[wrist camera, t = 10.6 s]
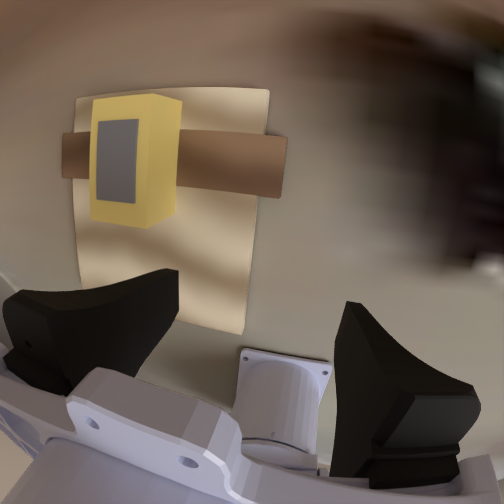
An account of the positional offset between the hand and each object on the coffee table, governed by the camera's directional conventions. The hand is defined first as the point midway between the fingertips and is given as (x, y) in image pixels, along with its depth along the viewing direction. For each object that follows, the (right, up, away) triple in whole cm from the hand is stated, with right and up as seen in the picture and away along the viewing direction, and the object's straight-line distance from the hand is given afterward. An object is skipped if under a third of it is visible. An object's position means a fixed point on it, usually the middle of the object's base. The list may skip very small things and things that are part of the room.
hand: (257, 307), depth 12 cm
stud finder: (-8, +9, +7) cm, 14 cm away
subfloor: (-8, +6, +10) cm, 14 cm away
